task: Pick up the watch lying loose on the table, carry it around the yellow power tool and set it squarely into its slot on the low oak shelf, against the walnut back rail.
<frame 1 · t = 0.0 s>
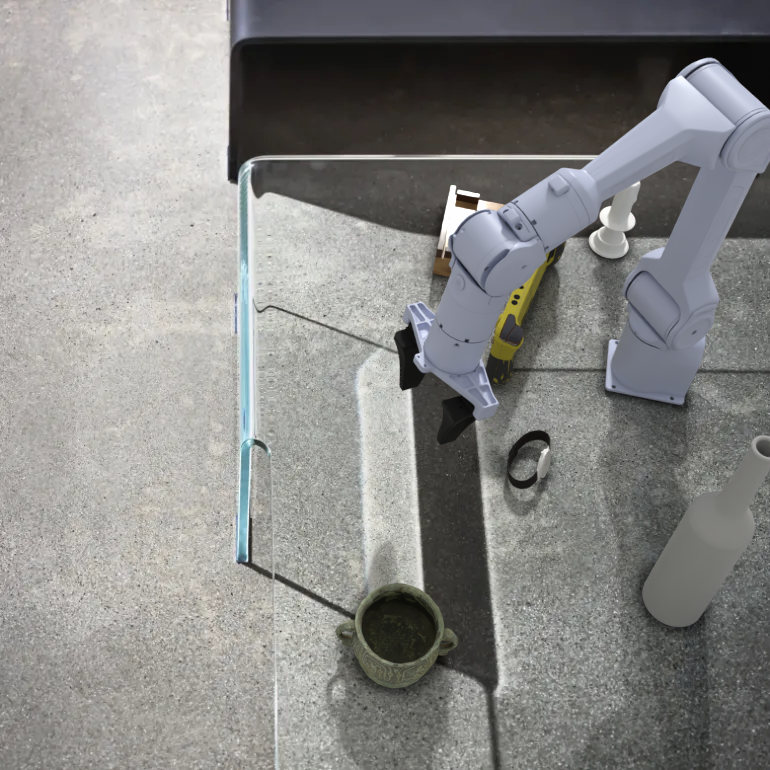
hand: (427, 412, 120), 11 cm above the table, tool pointing down, fingers open, 7 cm apart
candle: (608, 245, 154), on the table
yellow power tool: (519, 319, 144), on the table
vessel: (393, 652, 115), on the table
shelf: (469, 247, 151), on the table
bottle: (672, 599, 122), on the table
watch: (526, 467, 131), on the table
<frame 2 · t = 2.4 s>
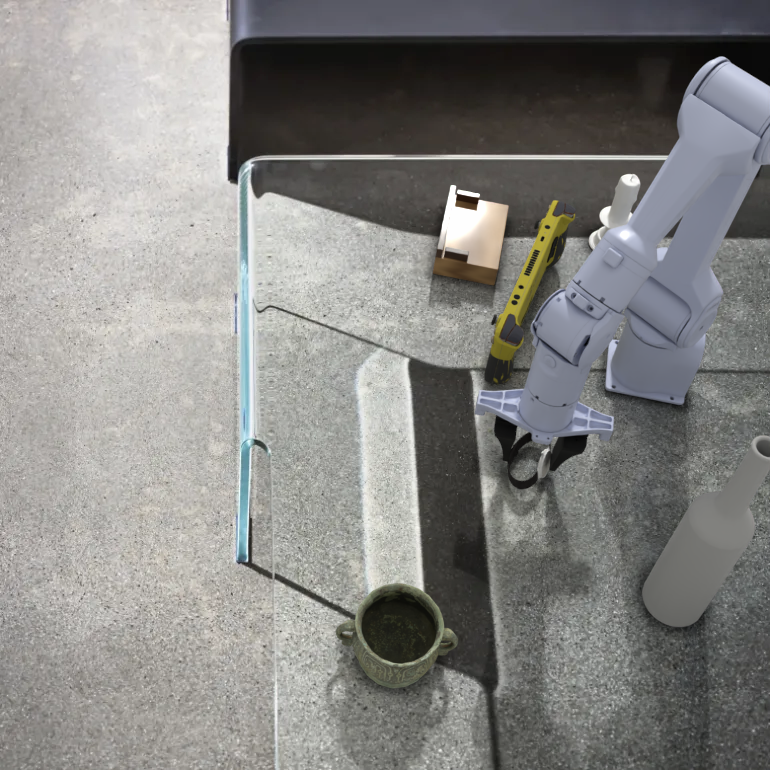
hand: (529, 459, 129), 1 cm above the table, tool pointing down, fingers closed on watch, 5 cm apart
watch: (526, 467, 131), on the table, touching gripper
everything else where it was.
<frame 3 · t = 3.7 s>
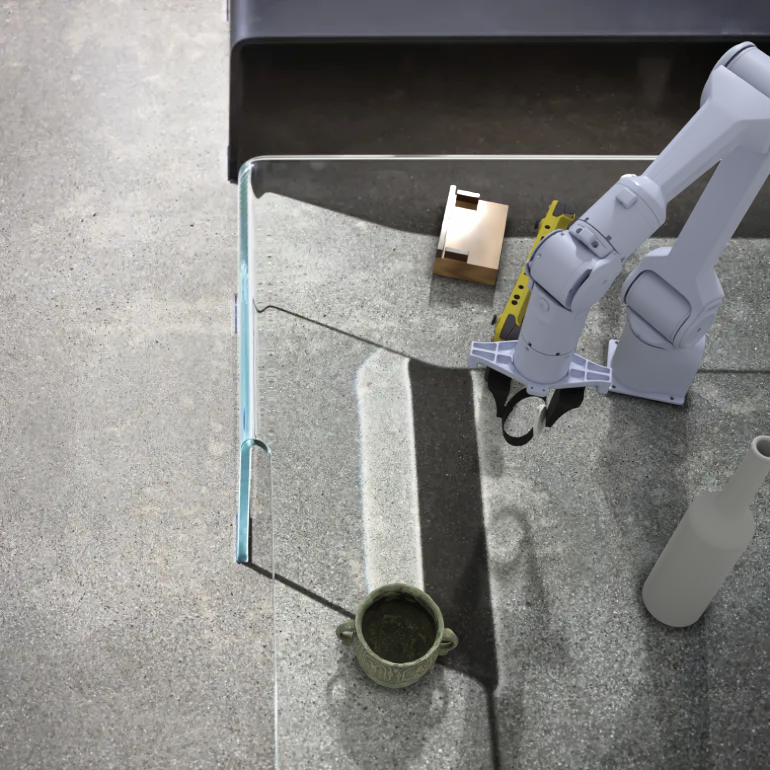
hand: (524, 415, 124), 8 cm above the table, tool pointing down, fingers closed on watch, 5 cm apart
watch: (521, 424, 126), point 7 cm above the table, touching gripper
everything else where it was.
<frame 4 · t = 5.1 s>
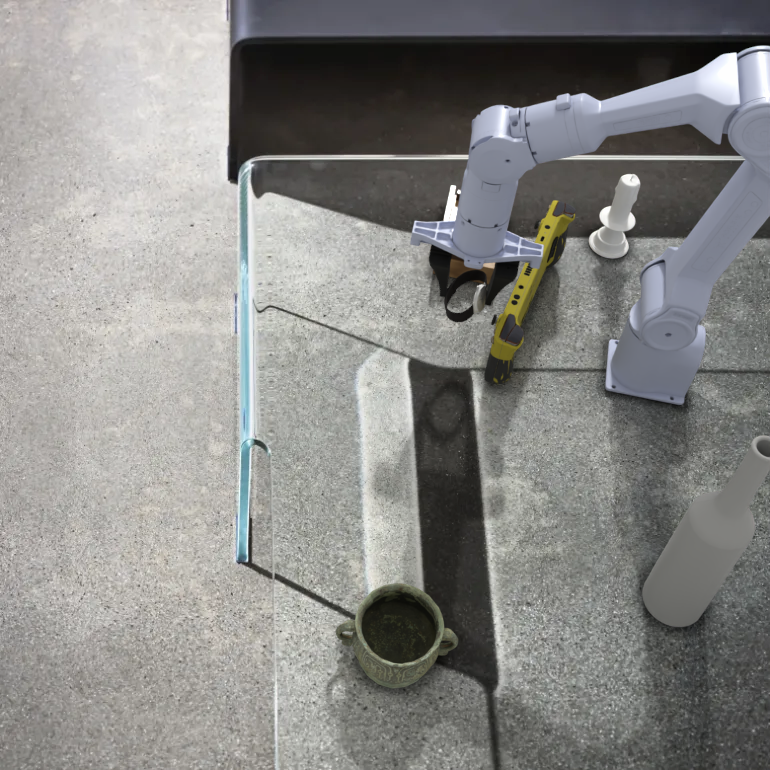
hand: (465, 295, 134), 8 cm above the table, tool pointing down, fingers closed on watch, 5 cm apart
watch: (464, 304, 135), point 7 cm above the table, touching gripper
everything else where it was.
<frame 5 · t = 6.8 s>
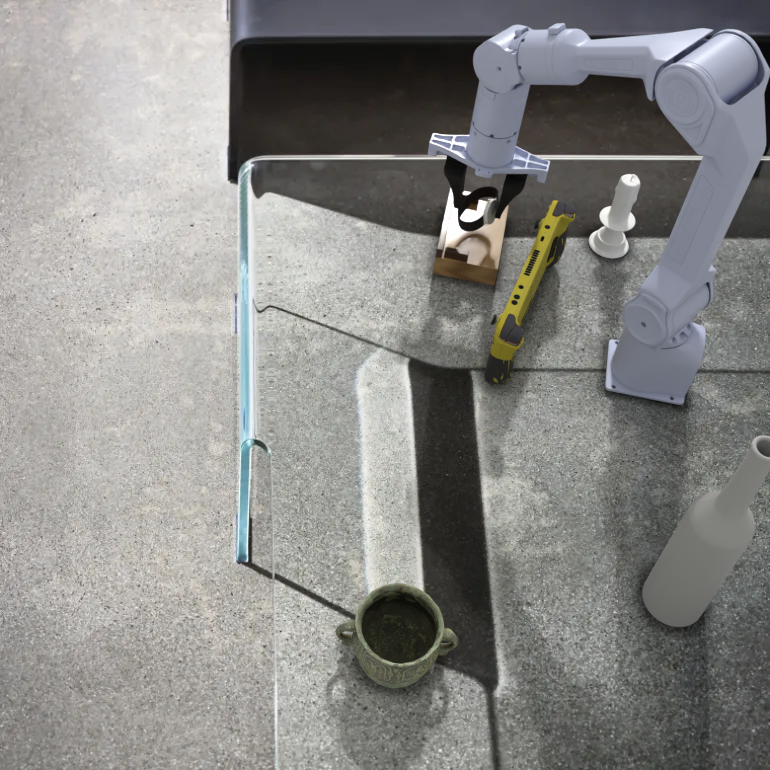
hand: (477, 208, 145), 7 cm above the table, tool pointing down, fingers closed on watch, 5 cm apart
watch: (476, 217, 147), point 5 cm above the table, touching gripper
everything else where it was.
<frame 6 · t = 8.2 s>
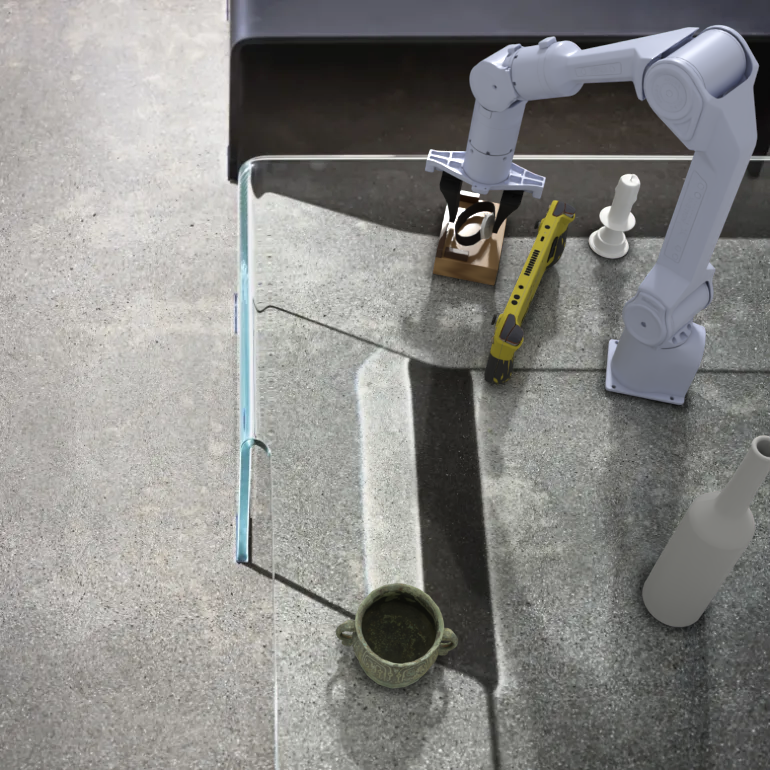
hand: (474, 222, 147), 4 cm above the table, tool pointing down, fingers closed on watch, 5 cm apart
watch: (473, 232, 149), point 3 cm above the table, touching gripper, shelf
everything else where it was.
when the fingers open (4 cm above the table, at t = 8.2 s): watch stays where it is, resting on shelf.
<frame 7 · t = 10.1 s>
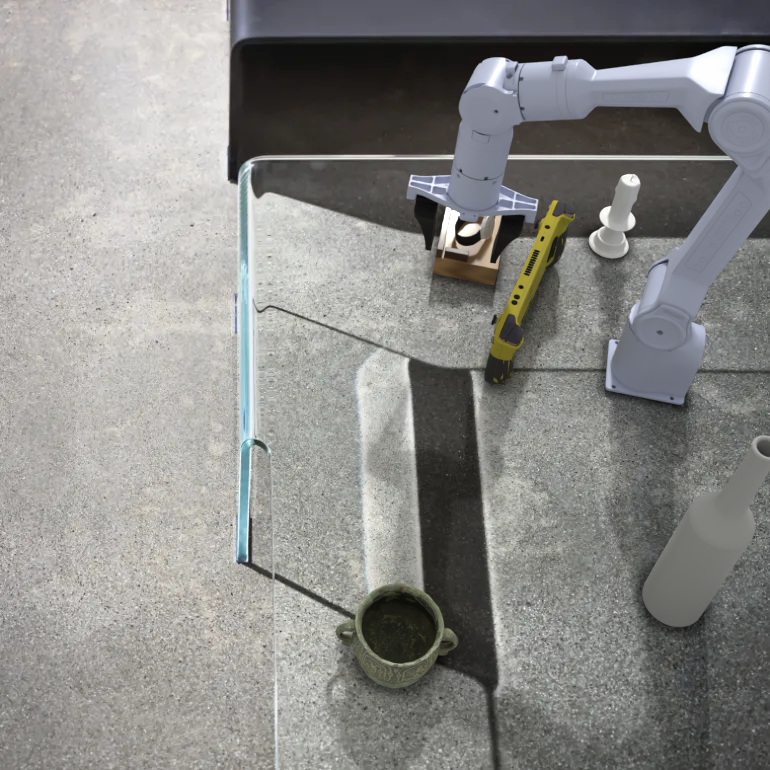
hand: (461, 250, 136), 10 cm above the table, tool pointing down, fingers open, 7 cm apart
watch: (473, 232, 149), point 3 cm above the table, touching shelf
everything else where it was.
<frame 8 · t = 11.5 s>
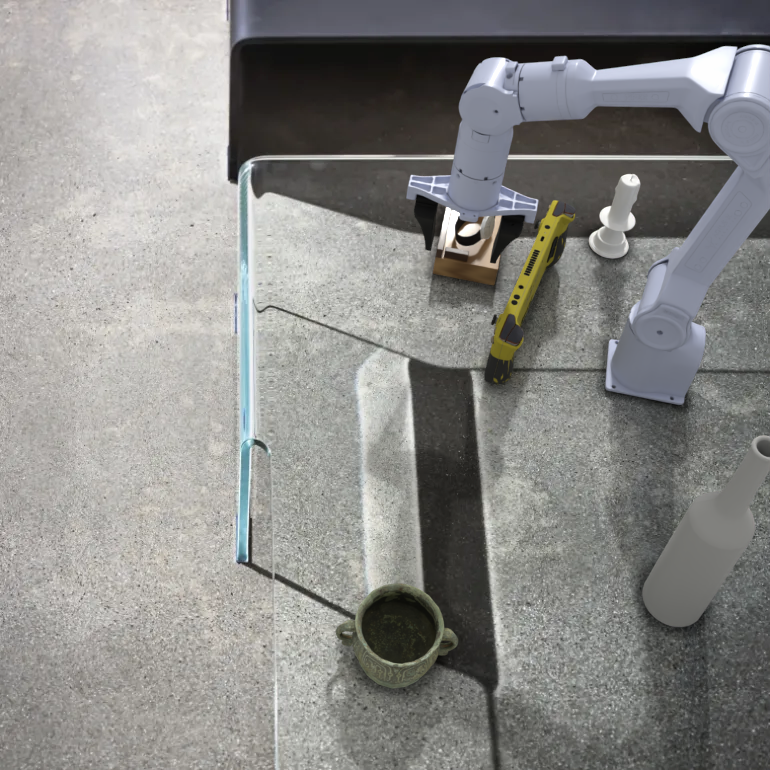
hand: (461, 251, 136), 10 cm above the table, tool pointing down, fingers open, 7 cm apart
nothing on the table moved.
at the end: watch 0.1 cm off-centre on the shelf, point 2.8 cm above the shelf's base; watch tilted 0° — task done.
